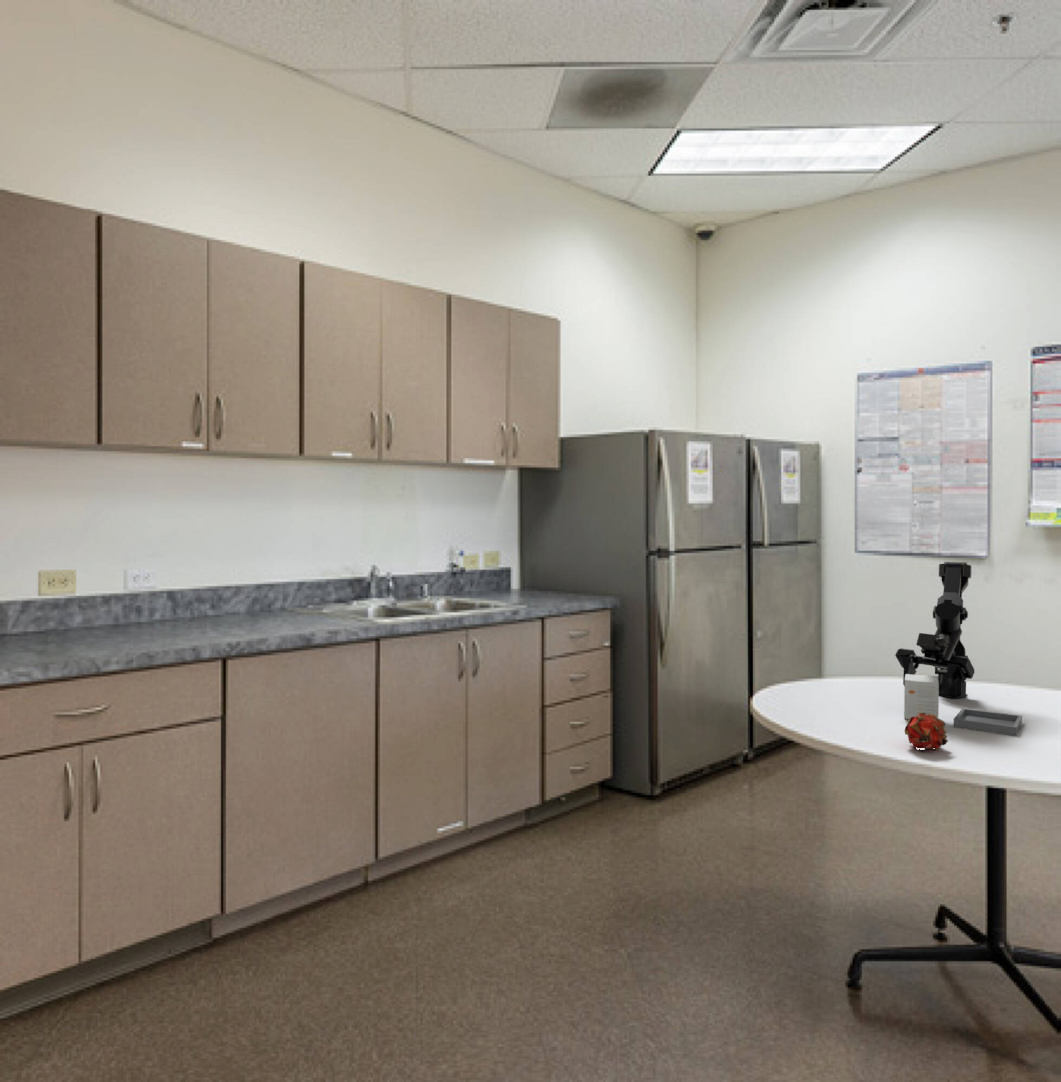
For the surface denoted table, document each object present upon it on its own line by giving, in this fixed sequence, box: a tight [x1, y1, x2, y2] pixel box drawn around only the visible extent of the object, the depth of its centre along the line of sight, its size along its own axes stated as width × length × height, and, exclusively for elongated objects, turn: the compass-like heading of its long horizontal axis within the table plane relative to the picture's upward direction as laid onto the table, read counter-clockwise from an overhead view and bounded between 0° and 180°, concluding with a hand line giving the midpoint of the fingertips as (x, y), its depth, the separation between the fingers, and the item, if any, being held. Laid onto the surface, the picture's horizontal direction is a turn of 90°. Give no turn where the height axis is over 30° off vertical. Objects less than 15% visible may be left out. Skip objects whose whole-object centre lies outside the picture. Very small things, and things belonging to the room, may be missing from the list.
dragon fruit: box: [904, 713, 949, 750], centre depth 193 cm, size 8×8×12 cm
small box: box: [903, 674, 940, 720], centre depth 219 cm, size 8×6×10 cm
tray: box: [953, 707, 1023, 736], centre depth 213 cm, size 14×14×2 cm
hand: (921, 688), depth 219 cm, fingers closed on small box, 9 cm apart
